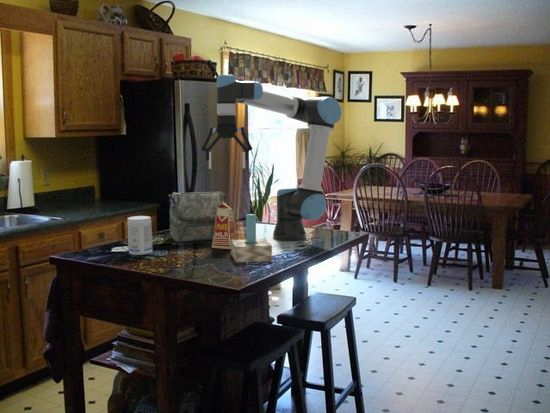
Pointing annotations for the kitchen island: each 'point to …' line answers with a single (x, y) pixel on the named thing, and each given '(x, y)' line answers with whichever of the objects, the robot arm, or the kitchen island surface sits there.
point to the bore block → (251, 251)
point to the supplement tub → (139, 235)
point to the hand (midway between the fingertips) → (227, 168)
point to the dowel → (250, 229)
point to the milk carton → (224, 227)
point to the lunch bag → (194, 215)
